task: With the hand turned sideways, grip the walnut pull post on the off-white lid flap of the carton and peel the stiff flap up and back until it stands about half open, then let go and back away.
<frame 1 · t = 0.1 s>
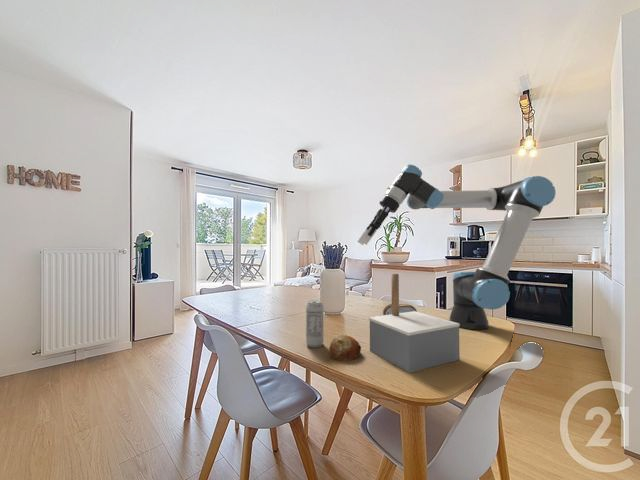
hand: (361, 243, 112), 36 cm above the table, tool tilted 35°, fingers open, 13 cm apart
flap: (411, 299, 89), point 17 cm above the table, hinge at 0.0°
tin: (400, 324, 125), on the table
energy drink can: (314, 345, 98), on the table
carton: (412, 355, 88), on the table
bread roll: (344, 355, 89), on the table
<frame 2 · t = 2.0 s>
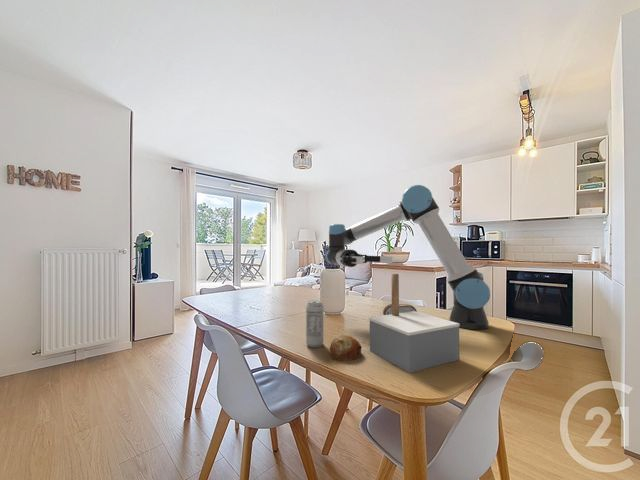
hand: (377, 260, 105), 29 cm above the table, tool horizontal, fingers open, 13 cm apart
nothing on the table moved.
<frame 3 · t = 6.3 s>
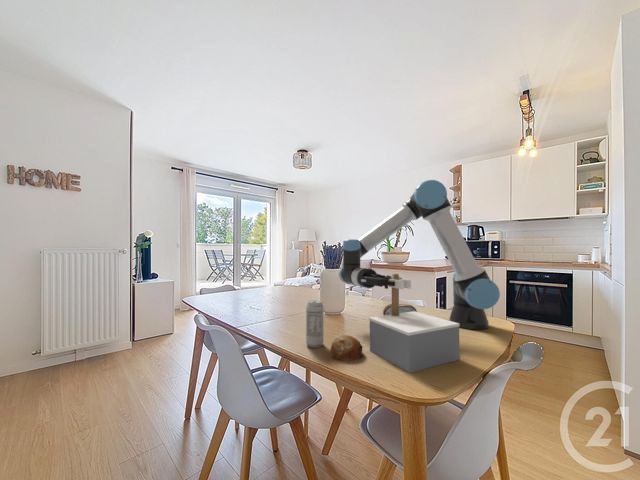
hand: (406, 284, 91), 22 cm above the table, tool horizontal, fingers closed on flap, 2 cm apart
flap: (411, 299, 89), point 17 cm above the table, hinge at 0.0°, touching gripper
everything else where it was.
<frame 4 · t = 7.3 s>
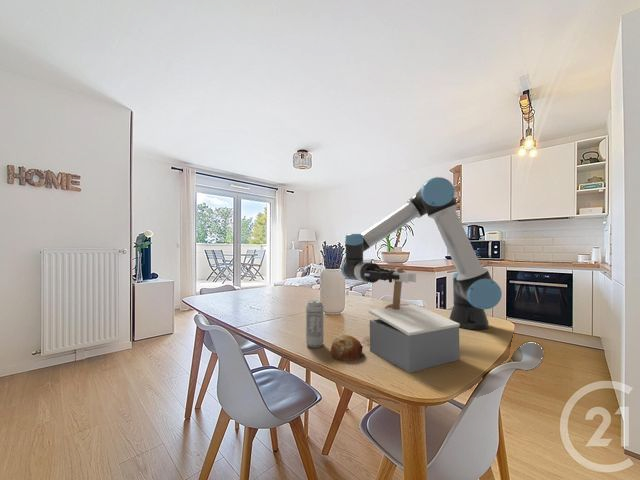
hand: (411, 278, 89), 24 cm above the table, tool horizontal, fingers closed on flap, 2 cm apart
flap: (414, 296, 88), point 19 cm above the table, hinge at 7.8°, touching gripper
everything else where it was.
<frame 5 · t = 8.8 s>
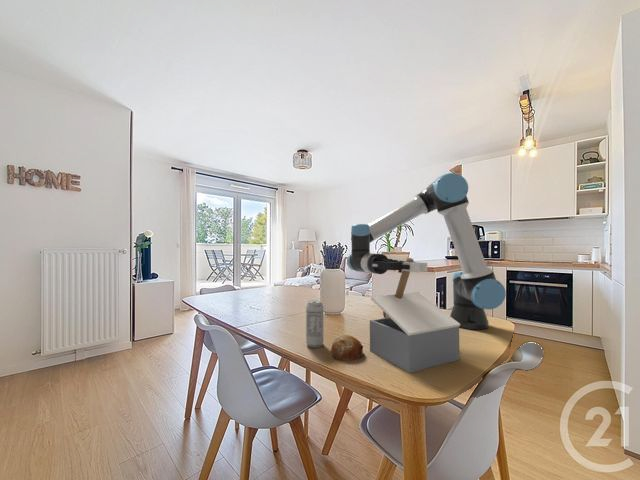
hand: (422, 267, 85), 28 cm above the table, tool horizontal, fingers closed on flap, 2 cm apart
flap: (420, 291, 86), point 20 cm above the table, hinge at 22.9°, touching gripper
everything else where it was.
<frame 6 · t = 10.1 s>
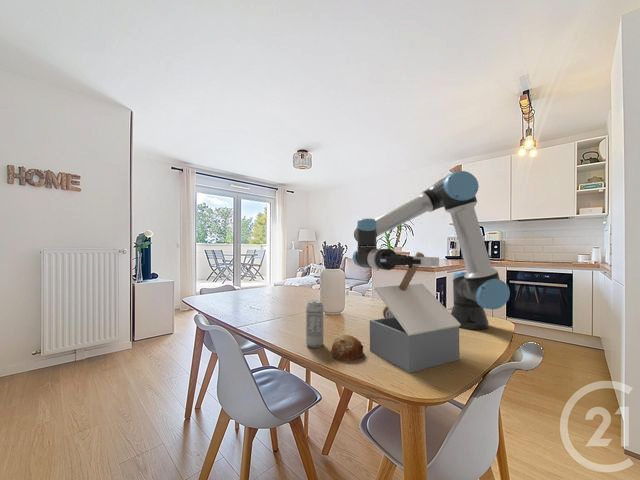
hand: (434, 262, 81), 30 cm above the table, tool horizontal, fingers closed on flap, 2 cm apart
flap: (426, 289, 84), point 21 cm above the table, hinge at 35.1°, touching gripper
everything else where it was.
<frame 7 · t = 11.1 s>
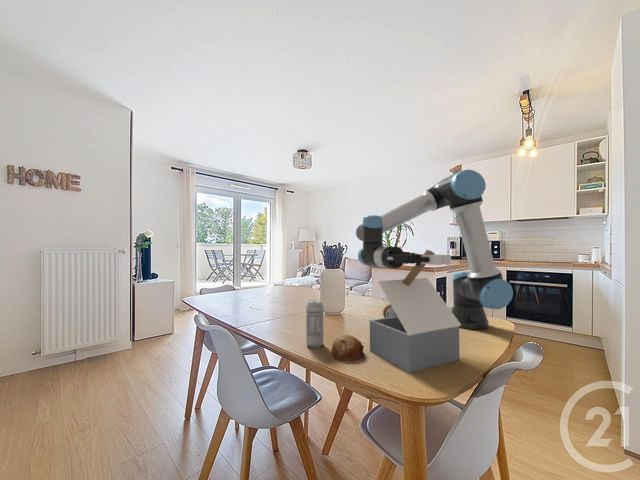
hand: (445, 260, 78), 31 cm above the table, tool horizontal, fingers open, 3 cm apart
flap: (431, 289, 82), point 22 cm above the table, hinge at 44.6°
everything else where it was.
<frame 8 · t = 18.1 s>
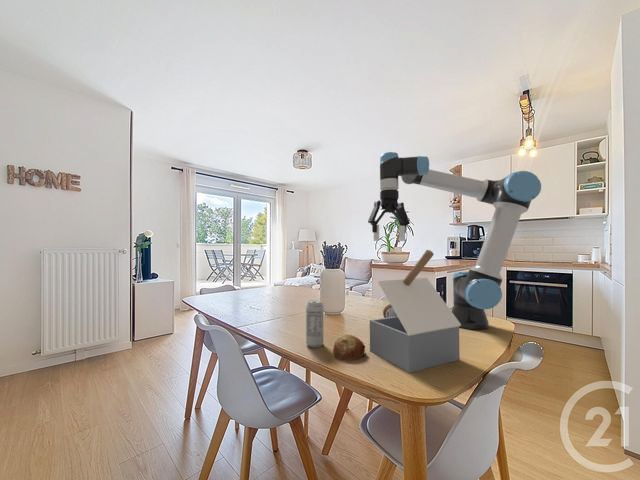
hand: (389, 240, 117), 37 cm above the table, tool pointing down, fingers open, 13 cm apart
at the end: flap at +45° (first picture: +0°); the gripper is holding nothing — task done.
